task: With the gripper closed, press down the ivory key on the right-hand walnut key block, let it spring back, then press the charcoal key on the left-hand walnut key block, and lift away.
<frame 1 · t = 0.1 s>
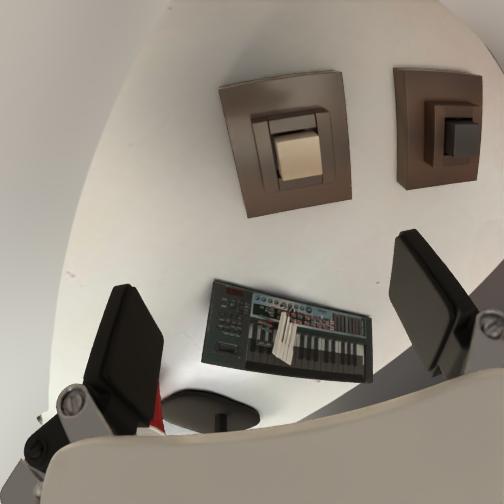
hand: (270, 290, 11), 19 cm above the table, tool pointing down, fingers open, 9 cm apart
key ivory: (298, 155, 23), point 4 cm above the table, slide at 0.1 cm
synthesizer keyboard: (293, 311, 40), on the table
key ebony: (461, 137, 22), point 4 cm above the table, slide at 0.1 cm
desk fan: (204, 412, 56), on the table
plastic cup: (142, 374, 47), on the table
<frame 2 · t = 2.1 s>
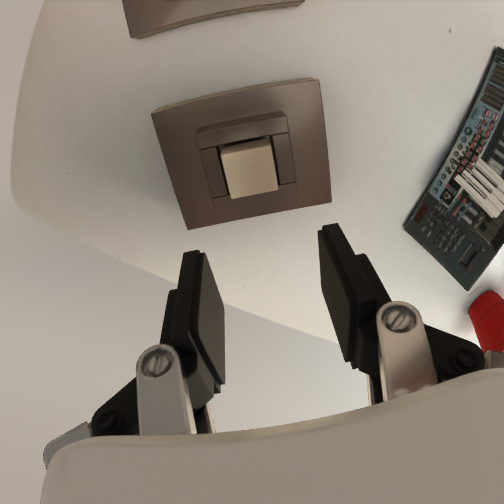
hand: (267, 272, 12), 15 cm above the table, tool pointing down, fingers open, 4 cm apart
key ivory: (249, 168, 20), point 4 cm above the table, slide at 0.1 cm
synthesizer keyboard: (467, 143, 24), on the table
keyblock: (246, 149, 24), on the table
plastic cup: (481, 302, 39), on the table
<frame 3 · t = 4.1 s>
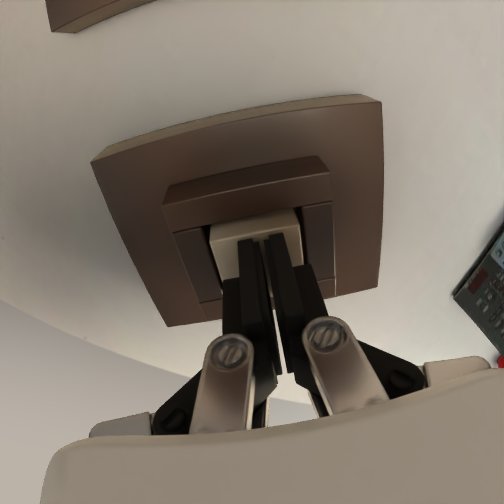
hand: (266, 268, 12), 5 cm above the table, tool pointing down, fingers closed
key ivory: (259, 254, 12), point 4 cm above the table, slide at -0.6 cm, touching gripper
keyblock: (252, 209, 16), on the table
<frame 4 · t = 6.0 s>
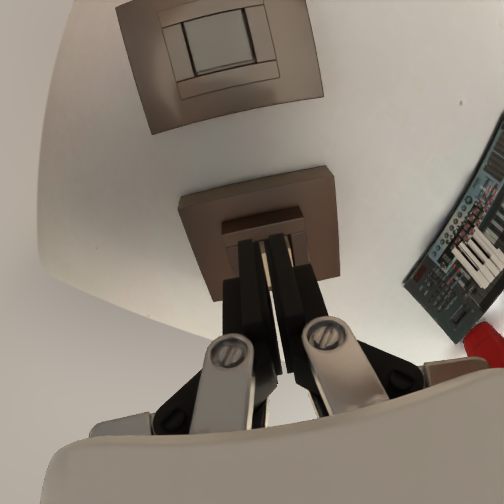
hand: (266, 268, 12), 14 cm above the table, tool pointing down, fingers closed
key ivory: (270, 262, 24), point 4 cm above the table, slide at 0.1 cm
synthesizer keyboard: (467, 207, 27), on the table
key ebony: (218, 40, 14), point 4 cm above the table, slide at 0.1 cm
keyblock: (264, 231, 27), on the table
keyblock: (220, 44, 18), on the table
plastic cup: (475, 332, 42), on the table
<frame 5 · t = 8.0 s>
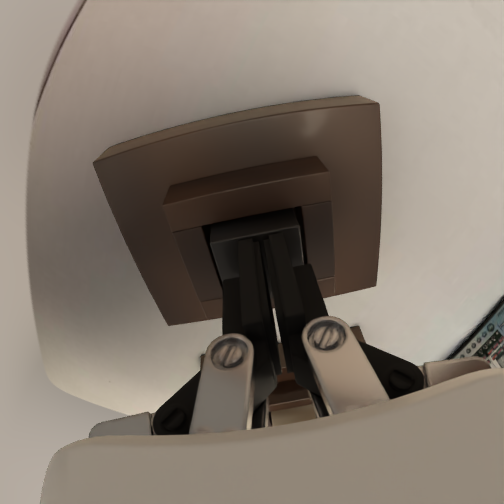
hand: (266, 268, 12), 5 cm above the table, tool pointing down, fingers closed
key ivory: (294, 422, 21), point 4 cm above the table, slide at 0.1 cm
synthesizer keyboard: (486, 325, 25), on the table
key ebony: (259, 256, 12), point 4 cm above the table, slide at -0.4 cm, touching gripper
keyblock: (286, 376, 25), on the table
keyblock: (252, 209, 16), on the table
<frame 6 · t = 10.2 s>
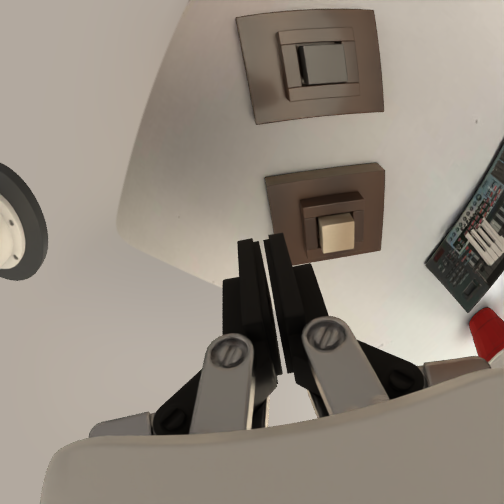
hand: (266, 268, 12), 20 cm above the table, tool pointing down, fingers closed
key ivory: (336, 232, 30), point 4 cm above the table, slide at 0.1 cm
synthesizer keyboard: (477, 203, 33), on the table
key ebony: (323, 63, 20), point 4 cm above the table, slide at 0.1 cm
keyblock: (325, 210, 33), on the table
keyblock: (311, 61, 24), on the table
plastic cup: (479, 316, 48), on the table
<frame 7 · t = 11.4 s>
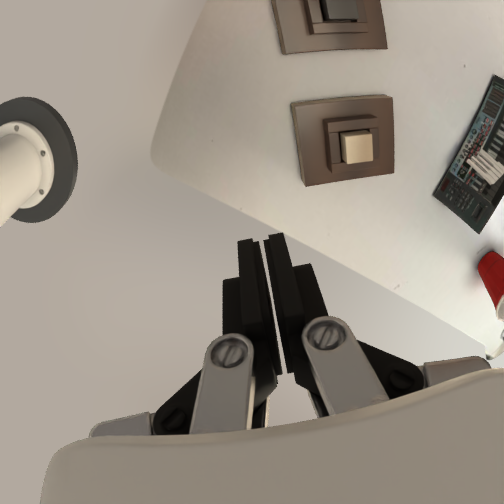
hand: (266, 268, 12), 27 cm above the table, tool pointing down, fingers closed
key ivory: (356, 146, 32), point 4 cm above the table, slide at 0.1 cm
synthesizer keyboard: (473, 139, 36), on the table
key ebony: (339, 5, 22), point 4 cm above the table, slide at 0.1 cm
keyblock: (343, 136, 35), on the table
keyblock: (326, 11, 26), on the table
plastic cup: (486, 261, 50), on the table
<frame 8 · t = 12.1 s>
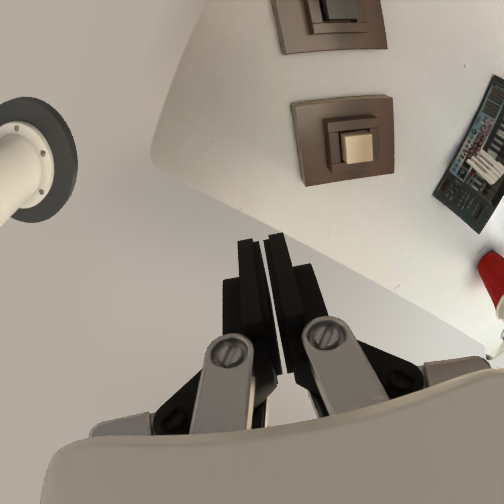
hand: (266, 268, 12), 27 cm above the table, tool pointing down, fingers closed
key ivory: (356, 146, 32), point 4 cm above the table, slide at 0.1 cm
synthesizer keyboard: (473, 139, 36), on the table
key ebony: (339, 5, 22), point 4 cm above the table, slide at 0.1 cm
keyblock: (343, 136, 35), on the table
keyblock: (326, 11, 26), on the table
plastic cup: (486, 261, 50), on the table
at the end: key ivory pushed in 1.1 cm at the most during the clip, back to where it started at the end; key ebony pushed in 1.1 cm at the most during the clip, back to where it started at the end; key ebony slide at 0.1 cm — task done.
